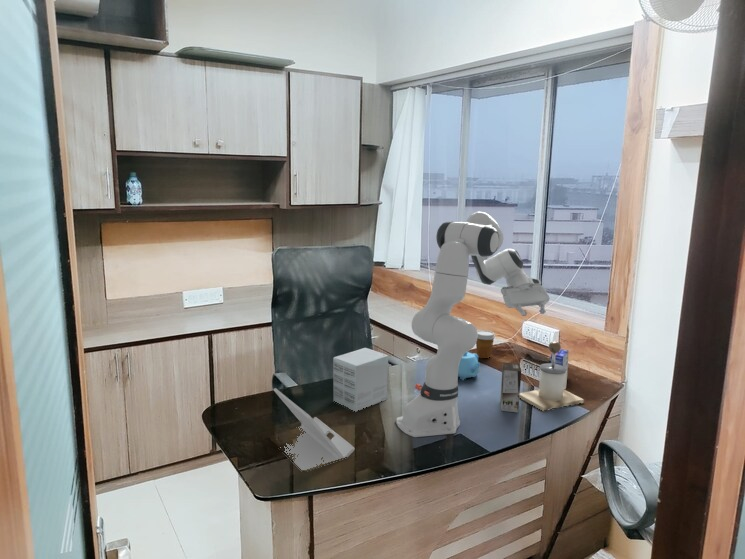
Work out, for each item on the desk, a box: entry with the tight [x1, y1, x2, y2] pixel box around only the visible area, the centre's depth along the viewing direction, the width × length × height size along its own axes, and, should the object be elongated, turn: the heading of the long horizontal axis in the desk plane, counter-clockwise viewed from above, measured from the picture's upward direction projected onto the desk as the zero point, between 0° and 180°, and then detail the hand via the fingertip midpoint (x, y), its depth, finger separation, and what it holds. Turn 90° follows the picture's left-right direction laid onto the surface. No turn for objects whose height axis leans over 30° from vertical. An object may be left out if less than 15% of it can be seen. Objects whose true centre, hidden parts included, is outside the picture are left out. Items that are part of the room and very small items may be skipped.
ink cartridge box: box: [550, 348, 569, 372], centre depth 222 cm, size 10×6×14 cm, turn 148°
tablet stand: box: [273, 387, 355, 471], centre depth 163 cm, size 18×25×17 cm
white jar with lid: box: [538, 362, 568, 401], centre depth 201 cm, size 11×10×12 cm
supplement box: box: [332, 347, 389, 413], centre depth 197 cm, size 17×13×18 cm
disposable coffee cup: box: [475, 329, 496, 359], centre depth 250 cm, size 10×10×12 cm
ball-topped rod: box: [548, 341, 562, 368], centre depth 198 cm, size 4×4×10 cm
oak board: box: [519, 389, 584, 412], centre depth 201 cm, size 20×14×2 cm
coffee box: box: [499, 362, 522, 413], centre depth 193 cm, size 9×6×16 cm
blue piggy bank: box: [458, 351, 481, 380], centre depth 224 cm, size 15×14×11 cm
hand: (534, 314), depth 207 cm, fingers open, 8 cm apart
